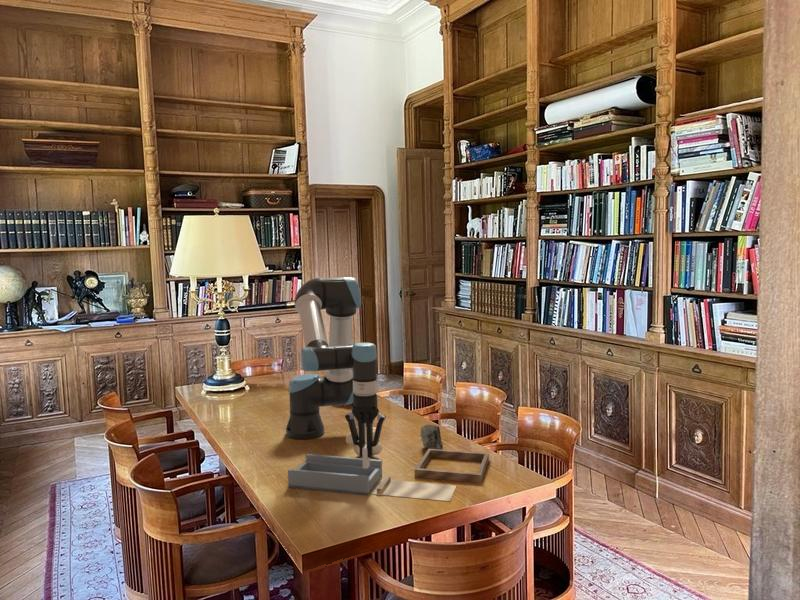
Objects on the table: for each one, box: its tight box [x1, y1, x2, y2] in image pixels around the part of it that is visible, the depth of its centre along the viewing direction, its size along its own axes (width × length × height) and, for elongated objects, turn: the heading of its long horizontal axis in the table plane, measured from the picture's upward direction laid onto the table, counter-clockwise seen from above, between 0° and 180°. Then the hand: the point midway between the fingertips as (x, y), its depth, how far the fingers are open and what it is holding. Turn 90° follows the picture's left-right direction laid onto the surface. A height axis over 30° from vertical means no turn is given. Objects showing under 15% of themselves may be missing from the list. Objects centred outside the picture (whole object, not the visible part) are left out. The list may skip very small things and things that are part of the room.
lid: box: [369, 475, 457, 503], centre depth 190 cm, size 25×12×2 cm, turn 75°
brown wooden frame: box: [414, 448, 490, 484], centre depth 207 cm, size 21×20×2 cm
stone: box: [420, 424, 444, 450], centre depth 227 cm, size 10×10×10 cm
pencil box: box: [287, 453, 383, 496], centre depth 196 cm, size 26×15×6 cm, turn 75°
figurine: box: [345, 416, 383, 458], centre depth 218 cm, size 14×9×20 cm
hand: (366, 466), depth 194 cm, fingers closed
